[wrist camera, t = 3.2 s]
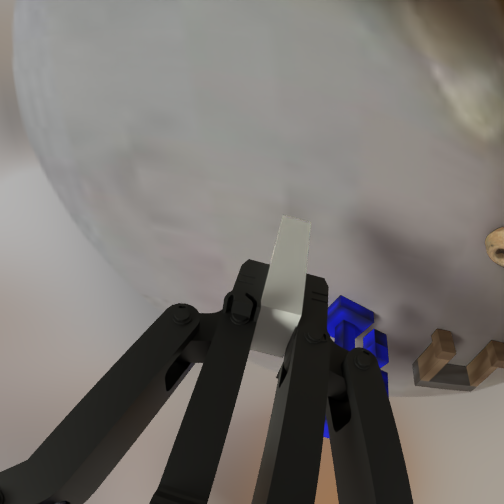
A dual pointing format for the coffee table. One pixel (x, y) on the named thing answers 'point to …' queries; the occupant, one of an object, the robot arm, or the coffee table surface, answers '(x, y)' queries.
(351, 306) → the figurine
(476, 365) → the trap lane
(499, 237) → the pottery oil lamp
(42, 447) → the robot arm
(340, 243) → the coffee table surface
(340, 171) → the coffee table surface
